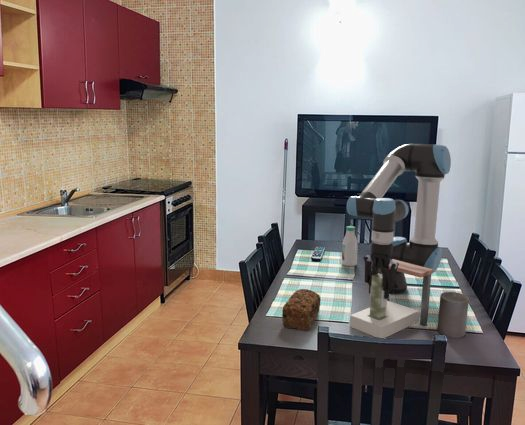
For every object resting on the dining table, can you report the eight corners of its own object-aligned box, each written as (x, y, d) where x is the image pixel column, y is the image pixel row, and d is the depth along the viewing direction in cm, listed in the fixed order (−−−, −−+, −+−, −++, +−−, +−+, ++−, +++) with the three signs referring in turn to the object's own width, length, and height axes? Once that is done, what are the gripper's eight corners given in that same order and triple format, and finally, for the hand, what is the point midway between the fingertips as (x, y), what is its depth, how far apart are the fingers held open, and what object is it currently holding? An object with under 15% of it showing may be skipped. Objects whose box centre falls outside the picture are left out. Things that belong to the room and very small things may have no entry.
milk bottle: (358, 263, 267) (360, 226, 263) (353, 267, 260) (354, 229, 257) (345, 261, 271) (346, 224, 267) (339, 265, 264) (340, 227, 261)
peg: (369, 317, 187) (372, 275, 184) (376, 314, 190) (378, 273, 187) (378, 320, 184) (381, 278, 181) (385, 318, 187) (387, 276, 184)
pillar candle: (432, 327, 189) (435, 288, 186) (458, 326, 190) (462, 288, 187) (443, 338, 180) (447, 298, 176) (470, 338, 180) (474, 298, 177)
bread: (295, 309, 204) (296, 286, 202) (321, 313, 201) (322, 289, 199) (280, 327, 187) (281, 302, 185) (308, 332, 184) (309, 306, 182)
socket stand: (379, 307, 207) (382, 256, 203) (428, 324, 191) (433, 269, 187) (341, 323, 191) (343, 268, 187) (391, 343, 175) (395, 283, 171)
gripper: (356, 239, 185) (352, 300, 190) (396, 248, 173) (392, 314, 177) (368, 236, 190) (365, 296, 195) (409, 245, 178) (404, 308, 182)
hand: (378, 304), depth 186 cm, fingers closed on peg, 4 cm apart
